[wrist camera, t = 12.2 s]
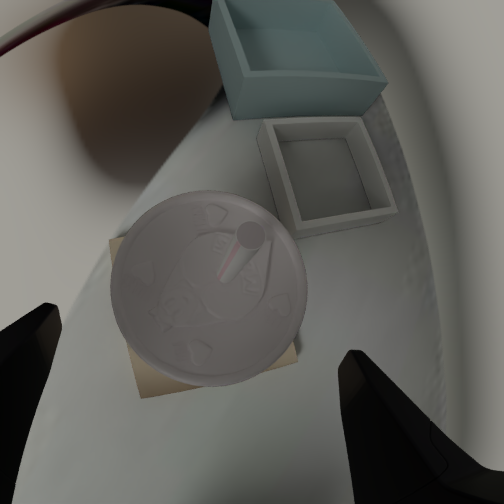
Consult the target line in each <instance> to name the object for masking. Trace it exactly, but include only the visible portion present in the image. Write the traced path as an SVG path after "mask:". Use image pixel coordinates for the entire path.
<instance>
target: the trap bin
mask: <svg viewBox="0 0 504 504" xmlns="http://www.w3.org/2000/svg"><path fill="white" fill-rule="evenodd" d="M209 34H210V38H211V41H212V45H213V48H214V52H215V56H216V59H217V63H218V66H219V70H220V73H221V77H222V81H223V85H224V88H225V92H226V96H227V99H228V103H229V107H230V110H231V114H232V118H233V120H243V119H255V118H270V117H288V116H320V115H352V116H362V115H363V114H364V113H365V111H366V110H367V109H368V108H369V107H370V105H371V104H372V103H373V102H374V100H375V99H376V98H377V97H378V95H379V94H380V93H381V92H382V91H383V89H384V88H385V87H386V85H387V84H388V82H387V79H386V78H385V76H384V74H383V72H382V71H381V69H380V68H379V66H378V64H377V63H376V61H375V59H374V58H373V56H372V55H371V53H370V51H369V50H368V48H367V47H366V45H365V44H364V42H363V41H362V39H361V38H360V36H359V35H358V33H357V32H356V30H355V29H354V27H353V26H352V25H351V23H350V22H349V20H348V19H347V18H346V16H345V15H344V14H343V12H342V11H341V10H340V8H339V7H338V6H337V4H336V3H335V2H334V1H332V0H213V2H212V9H211V16H210V23H209Z"/></svg>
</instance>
